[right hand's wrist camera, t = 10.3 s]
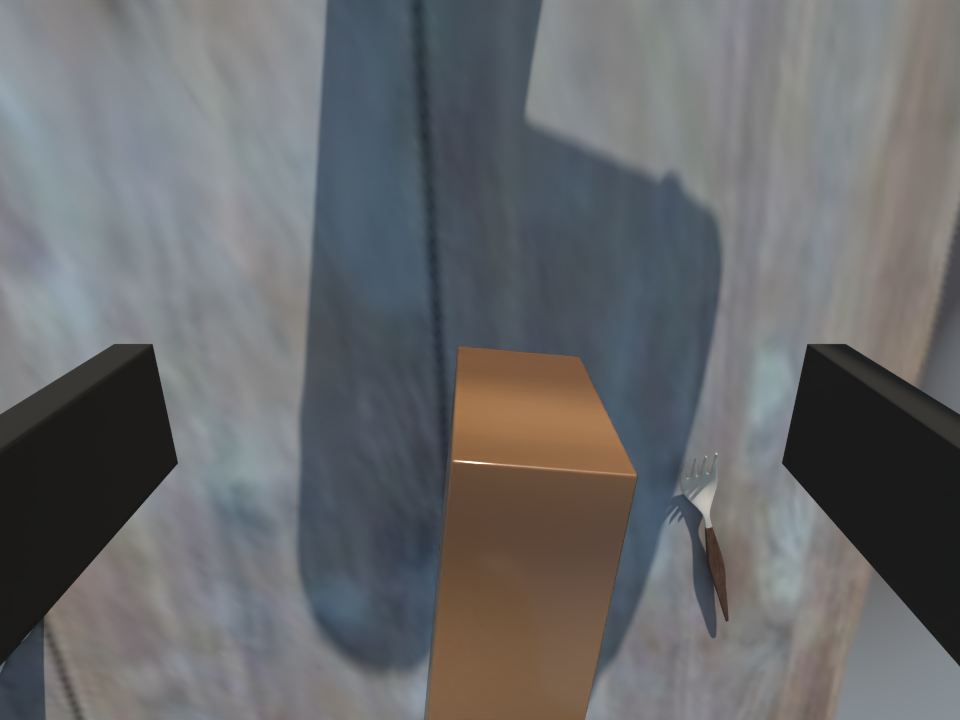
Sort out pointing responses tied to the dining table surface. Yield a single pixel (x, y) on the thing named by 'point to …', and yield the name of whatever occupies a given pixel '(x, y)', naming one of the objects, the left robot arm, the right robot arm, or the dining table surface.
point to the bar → (525, 539)
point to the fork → (707, 522)
